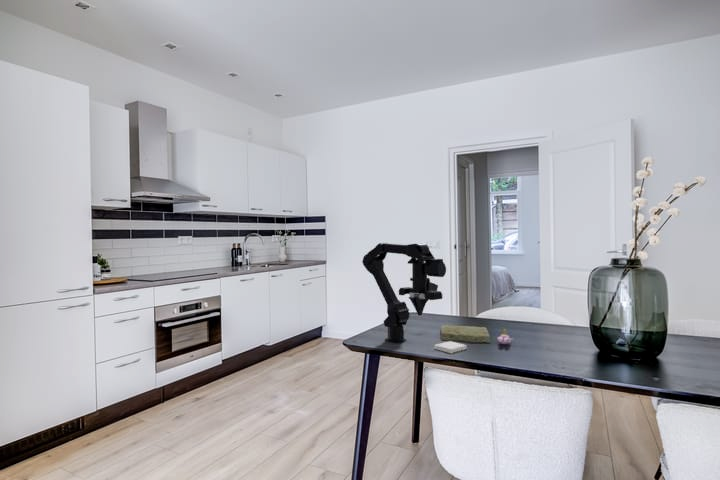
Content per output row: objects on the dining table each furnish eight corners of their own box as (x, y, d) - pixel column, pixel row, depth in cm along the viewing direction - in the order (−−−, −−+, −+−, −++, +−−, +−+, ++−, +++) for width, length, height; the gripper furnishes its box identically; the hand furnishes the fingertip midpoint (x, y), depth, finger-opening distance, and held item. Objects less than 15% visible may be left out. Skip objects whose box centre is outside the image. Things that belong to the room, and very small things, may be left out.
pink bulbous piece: (497, 342, 172) (494, 345, 158) (498, 327, 173) (494, 329, 159) (513, 343, 169) (511, 346, 156) (513, 329, 170) (511, 330, 157)
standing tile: (434, 344, 157) (451, 349, 151) (450, 341, 163) (466, 345, 156) (434, 350, 157) (451, 354, 151) (450, 346, 163) (466, 350, 156)
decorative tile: (440, 331, 187) (440, 323, 187) (486, 333, 183) (486, 325, 183) (440, 342, 169) (440, 333, 169) (491, 344, 165) (491, 335, 165)
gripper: (452, 276, 158) (452, 316, 159) (417, 272, 173) (417, 309, 173) (432, 277, 152) (432, 320, 152) (397, 274, 167) (397, 312, 167)
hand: (419, 315), depth 161 cm, fingers closed
